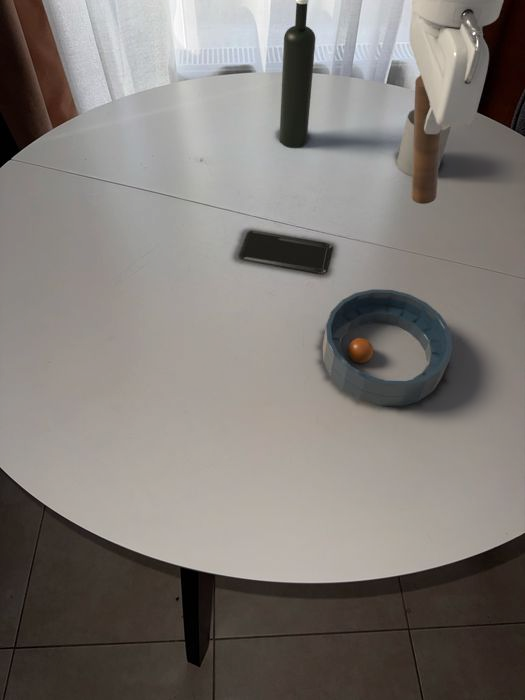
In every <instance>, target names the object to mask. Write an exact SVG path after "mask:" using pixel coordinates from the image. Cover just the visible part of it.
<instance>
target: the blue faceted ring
mask: <svg viewBox="0 0 525 700" xmlns="http://www.w3.org/2000/svg"><path fill="white" fill-rule="evenodd" d="M368 324H386V325H391V326H394V327H398V328H399V329H401V330H403V331H405V332H407V333H408V334H410V335H411V336H412V337H414V339H415V340H417V341H418V342H419V344H420V346H421V347H422V349H423V350H424V353H425V359H426V367H425V368H424V370H423V371H422V372H421V373H420V374H418V375H416V376H415V377H413V378H412V379H408V380H386V379H382V378H379V377H375V376H372V375H368V374H366V373H364V372H362V371H361V370H359V369H358V368H355V367H354V366H353V365H351V364H350V363H349V362H348V361H347V360H346V357H345V355H344V353H343V351H342V345H341V344H342V343H341V342H342V340H343V339H344V338H345V336H346V335H347V334H348V333H349V332H350V331H352V330H354V329H355V328H357V327H360V326H363V325H368ZM323 336H324V337H323V342H322V360H323V364H324V367H325V368H326V371H327V372H328V374H329V377H330V378H331V379H332V380H333V381H334V382H335V383H336V384H337V386H338V387H340V388H341V390H342V391H344V392H345V393H347V394H349V395H350V396H352V397H354V398H356V399H358V400H359V401H362V402H365V403H369V404H373V405H376V406H381V407H401V406H405V405H409V404H413V403H417V402H419V401H421V400H423V399H424V398H425V397H427V396H429V395H430V394H431V393H433V391H434V390H435V389H436V387H437V386H438V385H439V383H440V382H441V379H442V378H443V375H444V373H445V371H446V368H447V367H448V364H449V362H450V360H451V356H452V351H453V343H454V342H453V338H452V334H451V331H450V327H449V325H448V324H447V322H446V320H444V318H443V316H442V315H441V314H440V313H439V312H438V311H437V310H436V309H434V308H433V307H432V306H431V305H430V304H429V303H427V302H426V301H424V300H423V299H422V300H421V299H420V298H418V297H417V296H416V297H415V296H414V295H412V294H409V293H407V292H401V291H397V290H395V289H375V288H374V289H367V290H362V291H359V292H354V293H353V294H351V295H348V296H347V297H345V298H343V299H341V300H340V301H339V302H338V304H336V306H335V307H334V308H333V309H332V310H331V311H330V313H329V317H328V319H327V321H326V323H325V330H324V335H323Z"/></svg>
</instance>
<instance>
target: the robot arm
mask: <svg viewBox="0 0 525 700" xmlns="http://www.w3.org/2000/svg"><path fill="white" fill-rule="evenodd" d="M504 2H505V1H504V0H412V3H411V6H412V8H411V15H410V23H409V33H408V34H409V35H408V36H409V37H408V38H409V39H408V40H409V45H410V48H411V52H412V54H413V57H414V60H415V63H416V66H417V69H418V71H419V76H421V78H422V81H423V84H424V87H425V90H426V92H427V95H428V98H429V101H430V109H429V112H428V113H425V117H424V122H423V127H424V131H425V133H426V134H438V133H439V132H440V130H441V126H451V127H468V126H469V125H471V124H472V123H473V121H474V119H475V118H476V115H477V113H478V109H479V104H480V101H481V97H482V93H483V91H484V90H483V89H484V85H485V82H486V77H487V74H488V67H489V63H490V51H489V47H488V44H487V43H486V40H485V39H484V37H483V36H484V33H483V32H484V31H483V27H485V26H488V25H491V24H492V23H494V22H496V21H497V19H498V18H499V17H500V13H501V10H502V7H503V4H504ZM419 76H418V77H419Z"/></svg>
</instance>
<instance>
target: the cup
mask: <svg viewBox="0 0 525 700" xmlns="http://www.w3.org/2000/svg"><path fill="white" fill-rule="evenodd" d="M451 128H452V126H441V140H440V154H439V167H438V170H439V168H440V165H441V163H442V159H443V156H444V152H445V148H446V145H447V141H448V138H449V134H450V131H451ZM401 137H402V138H401V142H400V147H399V151H398V155H397V159H396V165H397V168H398V170H400V171H401V172H402V173H403V174H405V175H408V176H410V177H412V170H413V139H414V109H411V110H410V111H409V112H408V114H407V115H406V121H405V125H404V128H403V133H402V136H401Z"/></svg>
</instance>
